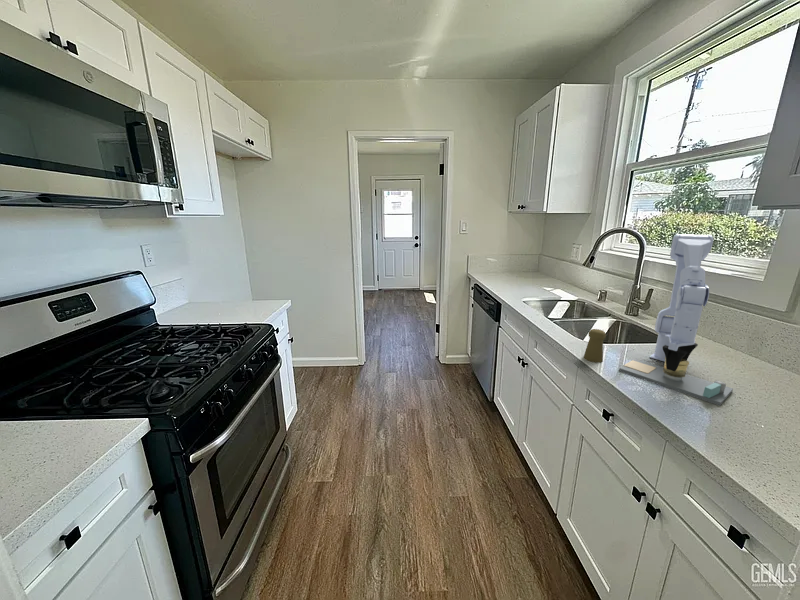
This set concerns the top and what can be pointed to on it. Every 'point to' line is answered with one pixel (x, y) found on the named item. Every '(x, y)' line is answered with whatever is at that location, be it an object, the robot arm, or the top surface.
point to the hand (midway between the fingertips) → (675, 366)
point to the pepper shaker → (595, 346)
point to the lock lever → (714, 389)
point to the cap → (680, 370)
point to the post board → (673, 380)
